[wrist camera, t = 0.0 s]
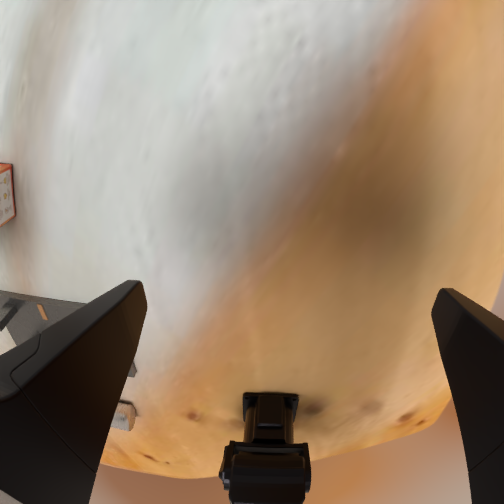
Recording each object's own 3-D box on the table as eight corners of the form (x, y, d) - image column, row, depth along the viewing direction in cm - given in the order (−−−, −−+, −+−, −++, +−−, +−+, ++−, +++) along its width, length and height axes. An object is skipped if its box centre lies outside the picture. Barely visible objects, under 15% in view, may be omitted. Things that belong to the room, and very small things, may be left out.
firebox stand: (136, 371, 34) (123, 403, 29) (22, 345, 35) (6, 367, 30) (113, 307, 29) (93, 340, 24) (-6, 289, 30) (-27, 311, 25)
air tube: (130, 399, 37) (121, 422, 34) (137, 414, 39) (130, 436, 35) (44, 377, 38) (34, 395, 34) (55, 392, 40) (45, 410, 36)
